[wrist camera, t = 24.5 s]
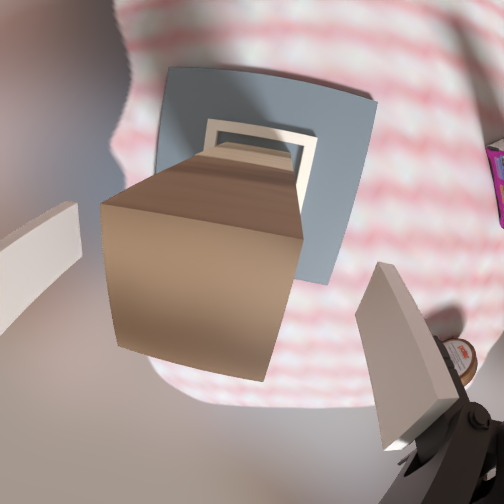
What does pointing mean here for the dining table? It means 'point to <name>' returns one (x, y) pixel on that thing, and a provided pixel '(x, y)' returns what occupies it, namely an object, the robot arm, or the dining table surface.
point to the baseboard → (278, 142)
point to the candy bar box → (498, 173)
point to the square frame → (269, 133)
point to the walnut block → (203, 263)
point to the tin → (462, 358)
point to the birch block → (250, 155)
